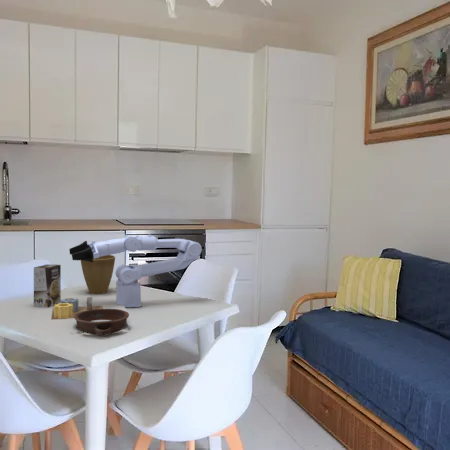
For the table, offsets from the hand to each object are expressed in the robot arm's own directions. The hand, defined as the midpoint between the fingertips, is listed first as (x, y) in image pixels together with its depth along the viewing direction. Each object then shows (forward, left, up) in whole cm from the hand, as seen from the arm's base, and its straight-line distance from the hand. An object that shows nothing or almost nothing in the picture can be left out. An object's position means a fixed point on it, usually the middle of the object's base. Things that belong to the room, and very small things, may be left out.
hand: (70, 254), depth 181 cm
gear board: (-2, +9, -21) cm, 23 cm away
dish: (-9, +28, -21) cm, 37 cm away
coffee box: (+9, -6, -21) cm, 24 cm away
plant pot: (-11, -29, -21) cm, 38 cm away
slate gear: (+1, +6, -20) cm, 21 cm away
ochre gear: (+3, +14, -20) cm, 24 cm away
